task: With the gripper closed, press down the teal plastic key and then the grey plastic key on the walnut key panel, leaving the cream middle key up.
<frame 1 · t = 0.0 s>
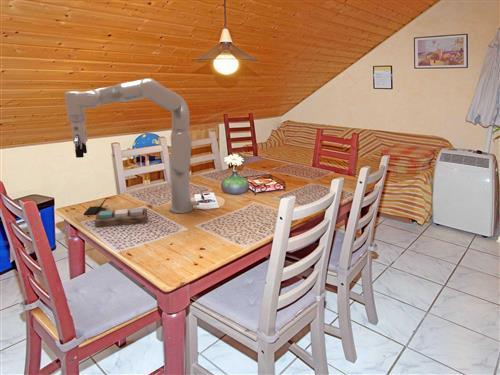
hand: (81, 155, 179), 31 cm above the table, tool pointing down, fingers open, 9 cm apart
teal key: (106, 215, 181), point 3 cm above the table, slide at 0.0 cm
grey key: (136, 212, 184), point 3 cm above the table, slide at 0.0 cm
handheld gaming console: (96, 212, 196), on the table
key panel: (122, 220, 183), on the table
cream key: (121, 213, 182), point 4 cm above the table, slide at 0.0 cm
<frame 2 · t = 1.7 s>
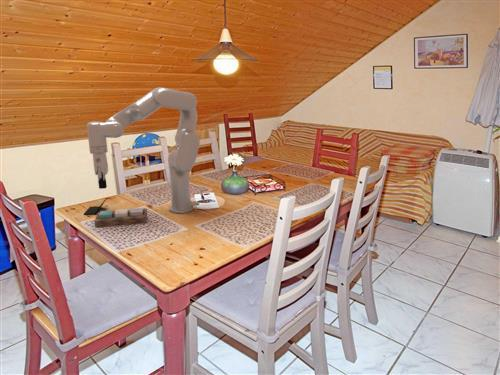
hand: (102, 187, 177), 17 cm above the table, tool pointing down, fingers closed
nothing on the table moved.
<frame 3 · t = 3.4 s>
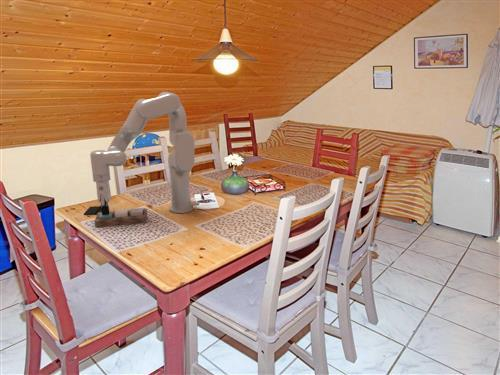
hand: (105, 214, 180), 4 cm above the table, tool pointing down, fingers closed
teal key: (106, 216, 181), point 3 cm above the table, slide at 0.7 cm, touching gripper
everything else where it was.
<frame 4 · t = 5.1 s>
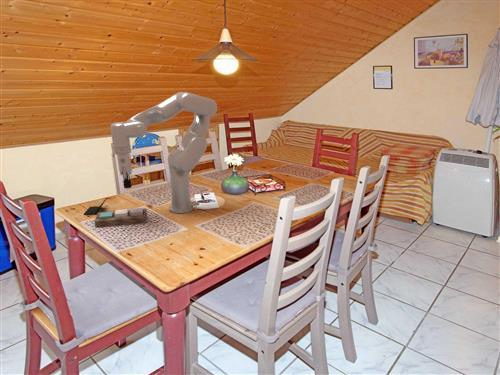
hand: (127, 187, 180), 16 cm above the table, tool pointing down, fingers closed
teal key: (106, 216, 181), point 3 cm above the table, slide at 0.8 cm
everything else where it was.
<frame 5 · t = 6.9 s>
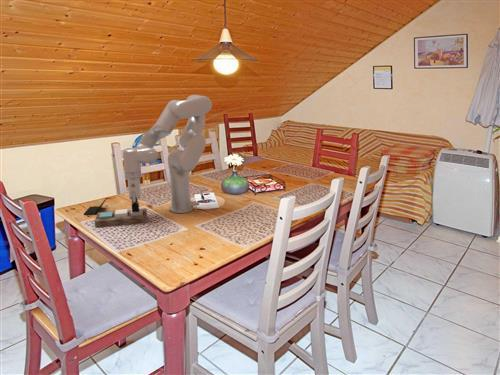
hand: (135, 211, 184), 4 cm above the table, tool pointing down, fingers closed
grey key: (136, 213, 184), point 3 cm above the table, slide at 0.4 cm, touching gripper
everything else where it was.
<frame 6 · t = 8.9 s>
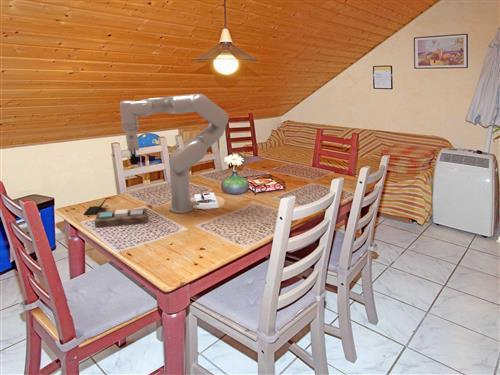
hand: (134, 164, 187), 25 cm above the table, tool pointing down, fingers closed
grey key: (136, 214, 184), point 3 cm above the table, slide at 0.8 cm
everything else where it was.
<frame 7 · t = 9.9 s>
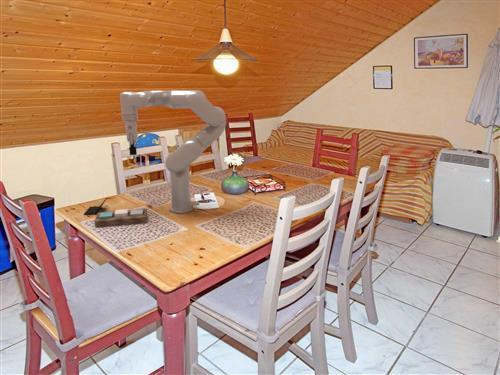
hand: (133, 154, 190), 29 cm above the table, tool pointing down, fingers closed
nothing on the table moved.
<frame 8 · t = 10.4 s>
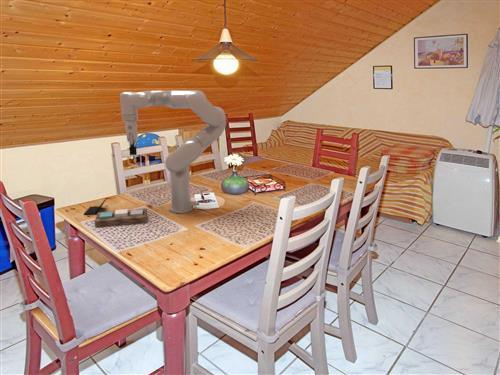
hand: (133, 154, 190), 29 cm above the table, tool pointing down, fingers closed
nothing on the table moved.
at the end: teal key slide at 0.8 cm; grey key slide at 0.8 cm; cream key slide at 0.0 cm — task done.
